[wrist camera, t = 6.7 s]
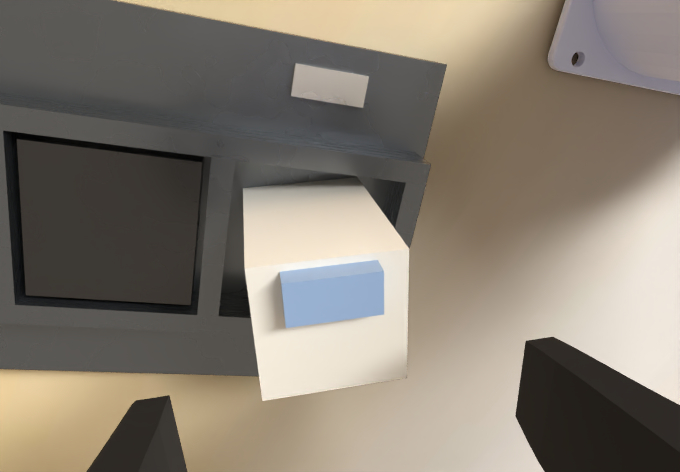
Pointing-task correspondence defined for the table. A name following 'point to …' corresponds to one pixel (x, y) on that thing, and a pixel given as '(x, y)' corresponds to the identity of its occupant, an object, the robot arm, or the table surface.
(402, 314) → the cream white rectangular block
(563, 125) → the table surface
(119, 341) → the grey compartment tray
